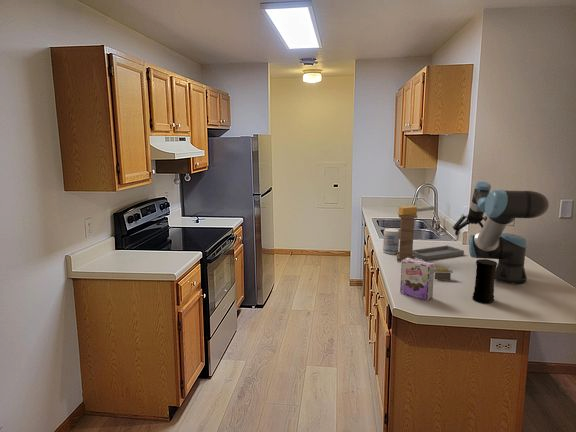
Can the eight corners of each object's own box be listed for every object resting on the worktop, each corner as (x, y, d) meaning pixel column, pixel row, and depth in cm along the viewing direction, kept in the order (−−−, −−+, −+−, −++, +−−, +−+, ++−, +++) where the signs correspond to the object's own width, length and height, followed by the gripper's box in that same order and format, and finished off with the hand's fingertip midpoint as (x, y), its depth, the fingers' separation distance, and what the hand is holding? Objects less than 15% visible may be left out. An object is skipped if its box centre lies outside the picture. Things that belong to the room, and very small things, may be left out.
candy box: (399, 293, 196) (401, 259, 193) (405, 290, 200) (407, 257, 197) (426, 301, 186) (429, 265, 183) (433, 297, 190) (435, 263, 187)
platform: (421, 275, 222) (421, 263, 220) (455, 276, 220) (456, 264, 219) (427, 283, 210) (427, 271, 209) (463, 284, 208) (464, 271, 207)
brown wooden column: (414, 262, 243) (417, 215, 238) (397, 261, 245) (399, 215, 240) (413, 257, 253) (415, 212, 248) (396, 257, 255) (398, 212, 250)
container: (487, 296, 192) (491, 258, 188) (498, 303, 183) (501, 264, 179) (468, 296, 191) (471, 258, 188) (478, 304, 183) (481, 264, 179)
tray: (425, 261, 246) (425, 256, 246) (409, 255, 259) (410, 250, 258) (463, 255, 258) (464, 250, 257) (446, 249, 270) (447, 245, 270)
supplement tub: (387, 255, 259) (388, 232, 256) (380, 251, 268) (381, 228, 265) (401, 253, 262) (402, 231, 259) (393, 249, 271) (394, 227, 268)
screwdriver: (402, 215, 240) (403, 208, 239) (398, 213, 244) (398, 207, 243) (435, 211, 249) (435, 205, 249) (430, 210, 253) (431, 204, 252)
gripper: (499, 206, 231) (489, 238, 241) (452, 203, 234) (445, 235, 245) (503, 213, 224) (493, 246, 235) (454, 210, 228) (447, 242, 238)
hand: (468, 240), depth 240 cm, fingers open, 13 cm apart
